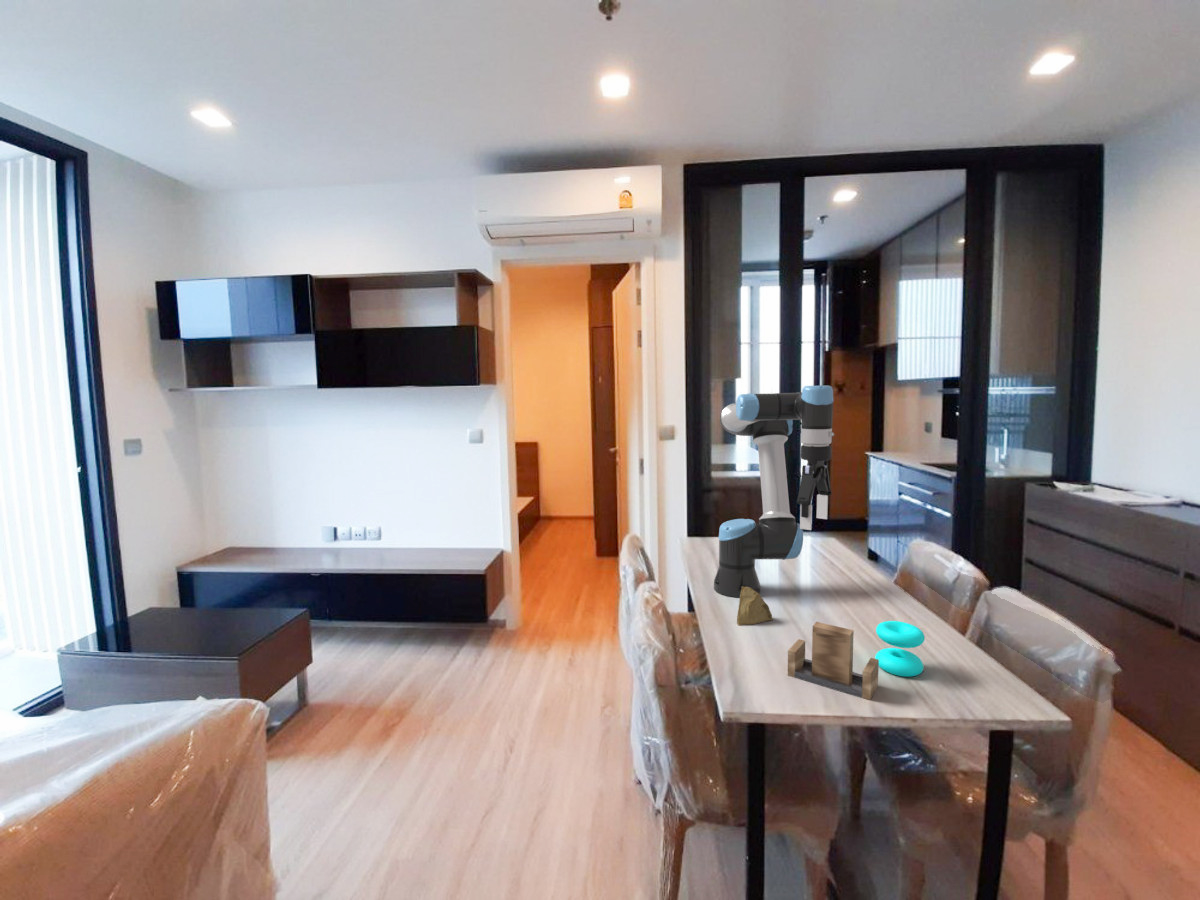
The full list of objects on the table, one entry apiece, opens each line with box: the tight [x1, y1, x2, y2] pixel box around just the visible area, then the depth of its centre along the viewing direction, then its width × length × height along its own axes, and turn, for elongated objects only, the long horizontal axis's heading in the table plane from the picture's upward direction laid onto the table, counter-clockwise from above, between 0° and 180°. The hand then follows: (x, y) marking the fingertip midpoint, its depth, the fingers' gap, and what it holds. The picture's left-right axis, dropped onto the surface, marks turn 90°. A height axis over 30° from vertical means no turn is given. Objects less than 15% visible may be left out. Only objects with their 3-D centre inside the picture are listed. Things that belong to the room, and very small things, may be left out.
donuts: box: [874, 620, 925, 678], centre depth 128 cm, size 10×10×10 cm
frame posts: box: [787, 638, 880, 701], centre depth 123 cm, size 18×7×6 cm, turn 52°
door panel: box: [811, 621, 854, 685], centre depth 123 cm, size 8×3×12 cm, turn 52°
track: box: [794, 658, 863, 699], centre depth 123 cm, size 14×7×2 cm, turn 52°
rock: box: [736, 586, 773, 626], centre depth 156 cm, size 11×9×10 cm
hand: (814, 523), depth 145 cm, fingers open, 13 cm apart
